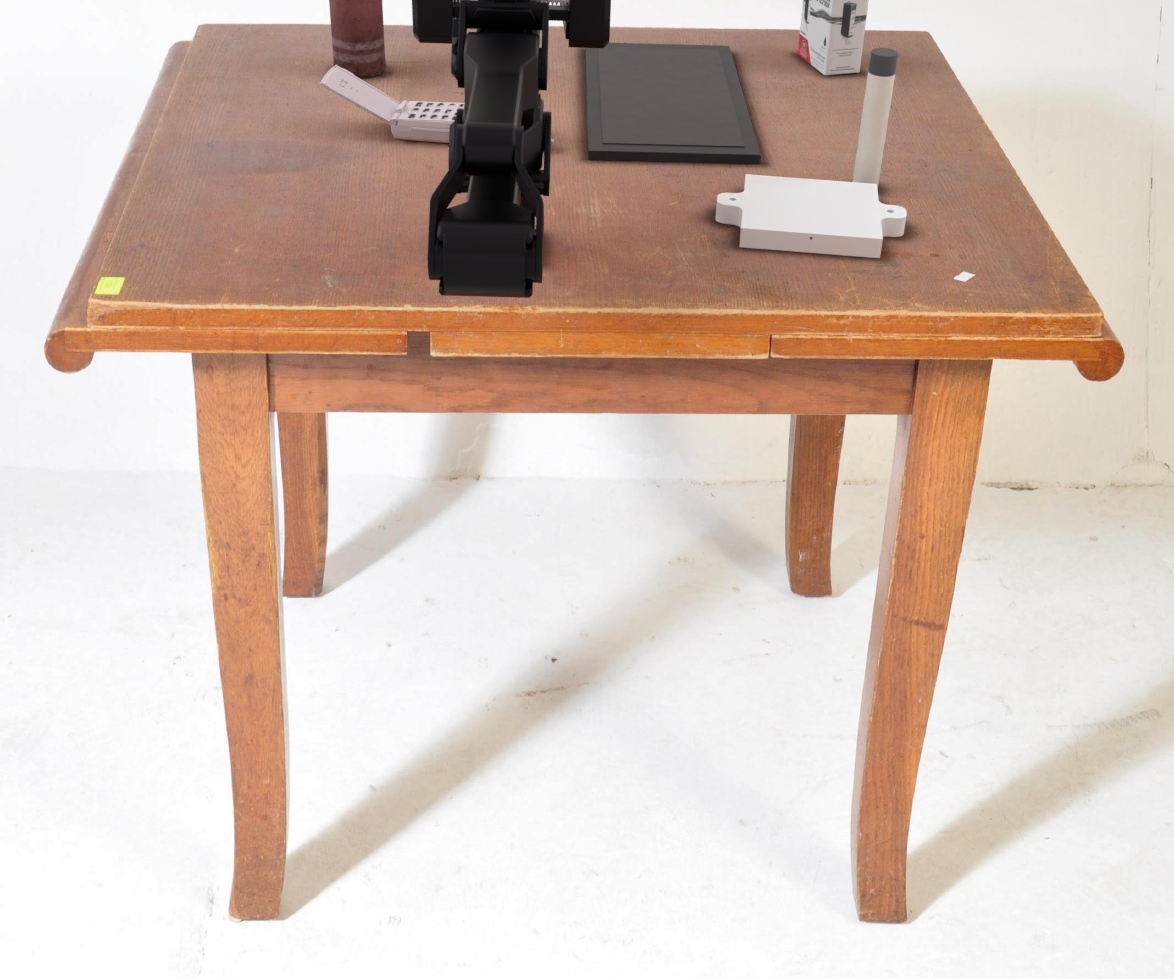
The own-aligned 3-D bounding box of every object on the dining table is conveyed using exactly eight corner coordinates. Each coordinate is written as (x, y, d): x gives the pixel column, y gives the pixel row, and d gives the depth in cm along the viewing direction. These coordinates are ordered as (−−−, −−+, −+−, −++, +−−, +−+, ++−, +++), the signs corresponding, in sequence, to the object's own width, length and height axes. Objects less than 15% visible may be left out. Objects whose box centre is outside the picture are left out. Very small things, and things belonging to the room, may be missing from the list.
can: (325, 65, 172) (316, -56, 164) (376, 60, 174) (369, -60, 166) (340, 82, 167) (331, -42, 159) (392, 75, 170) (386, -47, 162)
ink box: (795, 54, 180) (805, -43, 174) (830, 51, 182) (843, -45, 175) (823, 76, 174) (836, -24, 167) (860, 73, 175) (874, -26, 168)
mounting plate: (712, 245, 134) (713, 226, 133) (718, 190, 144) (720, 172, 143) (907, 260, 132) (910, 241, 131) (899, 204, 143) (902, 186, 142)
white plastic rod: (879, 194, 145) (900, 56, 137) (853, 194, 145) (873, 56, 137) (874, 184, 147) (895, 48, 139) (849, 183, 147) (869, 47, 139)
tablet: (759, 164, 150) (760, 154, 150) (588, 159, 150) (588, 149, 149) (728, 53, 180) (729, 45, 179) (585, 50, 180) (585, 41, 179)
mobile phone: (331, 63, 155) (561, 78, 152) (335, 116, 158) (560, 132, 156) (315, 83, 150) (552, 99, 148) (320, 137, 153) (552, 153, 151)
